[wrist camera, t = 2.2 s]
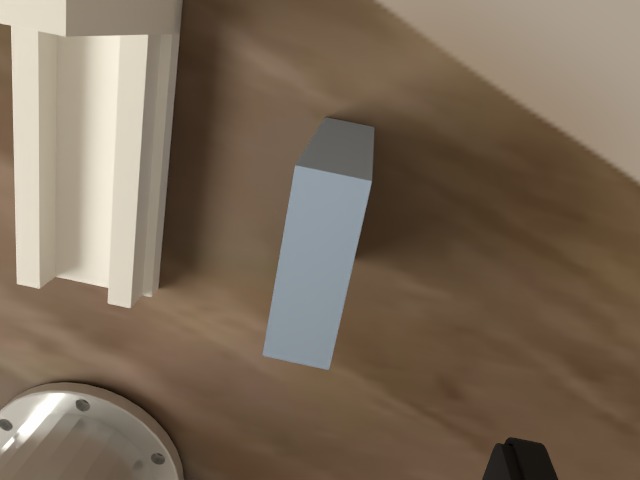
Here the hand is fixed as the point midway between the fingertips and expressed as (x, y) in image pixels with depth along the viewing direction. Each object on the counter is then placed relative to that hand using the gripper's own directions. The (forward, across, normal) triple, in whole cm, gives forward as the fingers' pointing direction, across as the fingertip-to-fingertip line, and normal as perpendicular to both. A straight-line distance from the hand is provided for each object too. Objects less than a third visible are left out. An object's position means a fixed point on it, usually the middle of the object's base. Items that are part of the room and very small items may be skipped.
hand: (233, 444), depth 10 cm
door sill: (+18, +12, 0) cm, 22 cm away
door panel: (+19, 0, 0) cm, 19 cm away
